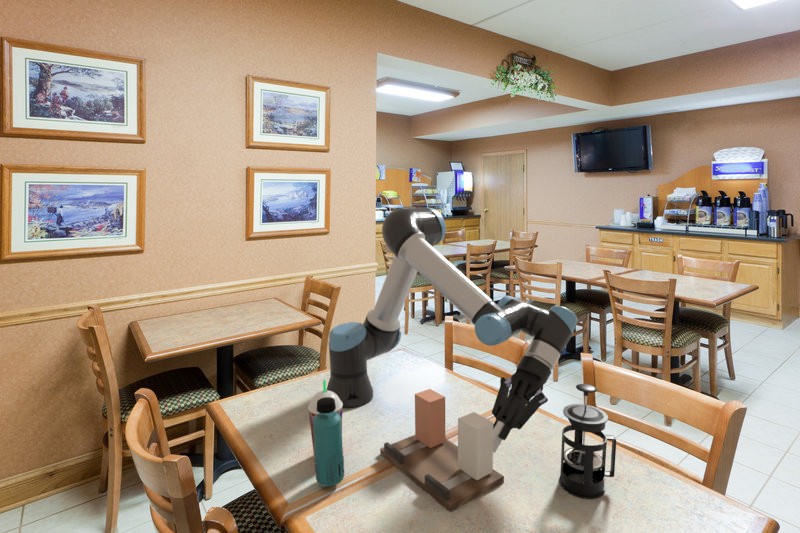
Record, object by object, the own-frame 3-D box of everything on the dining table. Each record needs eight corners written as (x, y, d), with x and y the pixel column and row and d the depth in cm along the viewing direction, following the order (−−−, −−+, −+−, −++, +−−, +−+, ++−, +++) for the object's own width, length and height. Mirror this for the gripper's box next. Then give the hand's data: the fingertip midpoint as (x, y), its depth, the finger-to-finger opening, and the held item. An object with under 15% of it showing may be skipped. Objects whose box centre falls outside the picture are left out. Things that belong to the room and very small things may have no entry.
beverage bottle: (342, 493, 97) (339, 406, 94) (312, 493, 97) (307, 407, 94) (346, 474, 104) (343, 393, 101) (318, 474, 104) (314, 393, 101)
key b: (430, 431, 118) (430, 388, 116) (445, 441, 113) (445, 396, 111) (415, 437, 115) (414, 393, 113) (430, 448, 110) (429, 402, 109)
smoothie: (350, 451, 113) (347, 376, 110) (335, 470, 106) (331, 389, 102) (321, 445, 116) (317, 372, 113) (304, 463, 108) (299, 385, 105)
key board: (429, 433, 121) (429, 421, 120) (503, 482, 100) (504, 467, 99) (380, 454, 112) (380, 441, 111) (450, 512, 91) (450, 496, 90)
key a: (473, 459, 105) (473, 411, 103) (492, 472, 100) (493, 422, 99) (457, 467, 102) (457, 418, 101) (476, 480, 98) (477, 429, 96)
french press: (560, 497, 95) (565, 394, 91) (552, 470, 104) (555, 376, 100) (619, 501, 93) (626, 397, 89) (605, 474, 102) (611, 378, 99)
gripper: (567, 379, 106) (519, 469, 99) (523, 363, 117) (477, 443, 110) (554, 362, 102) (504, 455, 95) (509, 348, 113) (461, 430, 106)
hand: (489, 449), depth 103 cm, fingers closed
